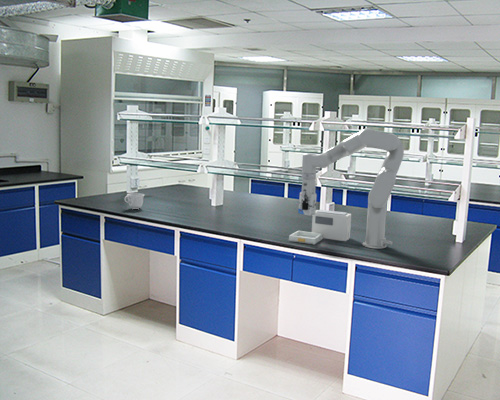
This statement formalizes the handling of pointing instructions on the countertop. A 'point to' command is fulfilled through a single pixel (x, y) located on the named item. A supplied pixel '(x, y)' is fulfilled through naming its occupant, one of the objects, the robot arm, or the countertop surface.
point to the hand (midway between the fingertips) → (307, 208)
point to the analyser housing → (332, 224)
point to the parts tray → (305, 237)
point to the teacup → (135, 200)
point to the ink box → (311, 205)
